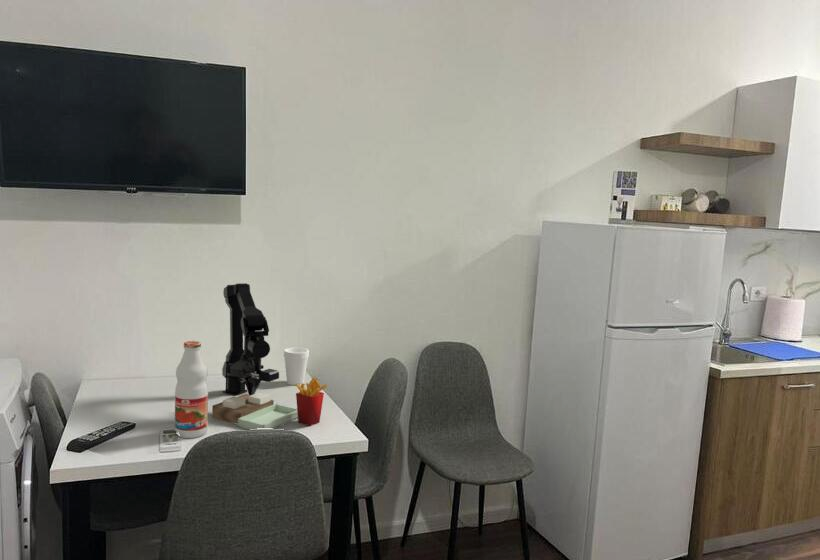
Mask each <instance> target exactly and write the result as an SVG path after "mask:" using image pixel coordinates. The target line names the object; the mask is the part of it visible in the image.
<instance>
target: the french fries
mask: <svg viewBox="0 0 820 560" xmlns="http://www.w3.org/2000/svg"><path fill="white" fill-rule="evenodd" d="M305 385H306V387H305ZM295 386H296V387H297V389H298V390H299V392H296V393H295V399H296V408H297V413H298V419H297V421H298V424H301V425H304V426H308V427H311V426H314V425H316V424H319V423H320V421H321V416H322V415H321V413H322V409H323V408H322V407H323V401H324V397H325V395H324V394H325V393H324V392H321V391H323V389H324V390H325V388H327V387H328V385H327V383H325V384H323V385H321V384H320V382H319V378H317V377H315V378H314V377H312V378H311V380H310V381H309V382H306V383H302V384H301V385H299V384H298V383H297V384H296V385H295Z"/></svg>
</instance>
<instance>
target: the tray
mask: <svg viewBox="0 0 820 560" xmlns="http://www.w3.org/2000/svg"><path fill="white" fill-rule="evenodd" d="M295 420H298V413H297V407H293V406H290V405H289V406H288V405H284V404H280V403H274V405H271V406H269V407H266V408H264V409H261V410H258V411H256V412H253V413H251V414H248V415H246V416H243V417H241V418H238V424H237V427H238V426H239V427H240V428H243V429H246V430H250V429H257V428H275V429H277V428H279V427H281V425H282V426H283V424H284V425H286V424H288V422H289V423H290V422H292V421H295ZM239 427H238V428H239ZM276 427H277V428H276Z"/></svg>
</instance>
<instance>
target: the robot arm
mask: <svg viewBox="0 0 820 560" xmlns="http://www.w3.org/2000/svg"><path fill="white" fill-rule="evenodd" d="M223 297H224V301H225V304H226V305H227V307H228V308H229V343H230V344H229V345H230V347H229V351H228V352H227V354H226V355H225V361H224V363H223V365H222V368H221V370H222V371H221V372H222V373H221V374H222V376H223V377H224V379H225V389H224V390H222V393H225V394H228V395H233V396H238V395H242V394H243V393H247V394H249V396H250V395H253V394H256V393H257V389H258V387H259V386H260V384H261V382H266V383H269V382H273V381H276V380H278V379H280V372H279V370H277V369H273V368H267V369H264V366H265V365H263V364H262V359H263V358H266V357H267V356H268V355H269V354H270V351H271V347H270V344H269V343H268V341H266V340H265V337H268V336H269V332H270V328H269V324H268V320H267V317H266V316H265V315H264V314H263V311H262V310H261V309H259V308H257V306H256V304H255V302H254V298H253V296H252V293H251V286H250V284H248V283H247V282H246V283H243V282H242V283H235V284H227V285H226V286H225V287H223Z"/></svg>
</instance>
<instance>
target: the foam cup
mask: <svg viewBox="0 0 820 560" xmlns="http://www.w3.org/2000/svg"><path fill="white" fill-rule="evenodd" d="M309 354H310V350H309V349H308V348H305V347H288V348H285V349H284V350H283V357H284V364H285V365H284V367H285V374H286V375H285V377H286V383H287V385H290V386H296V384H297V383H298V384H299V385H300V386H301V384H302V383H303V384H305V377H306V370H307V365H308V360H309V356H310V355H309Z"/></svg>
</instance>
